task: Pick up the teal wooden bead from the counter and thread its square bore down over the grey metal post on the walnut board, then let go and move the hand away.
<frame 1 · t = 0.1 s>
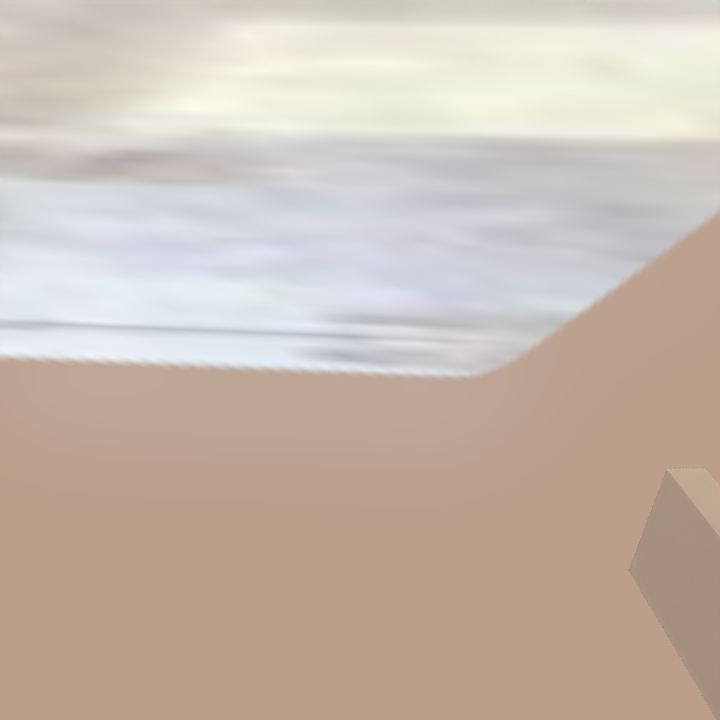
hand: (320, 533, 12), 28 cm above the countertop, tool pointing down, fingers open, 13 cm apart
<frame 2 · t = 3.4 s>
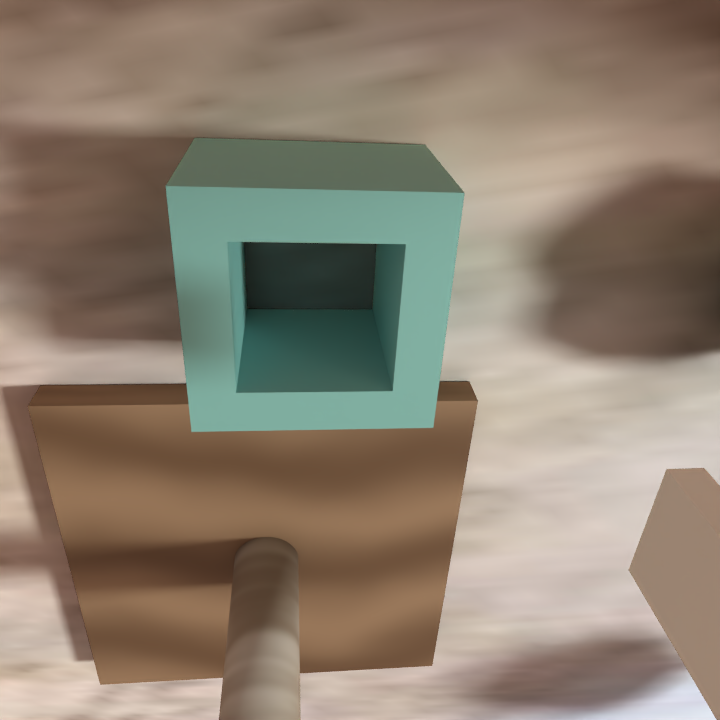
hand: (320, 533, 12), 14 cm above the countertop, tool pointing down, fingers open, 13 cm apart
post board: (267, 536, 32), on the countertop
bead: (311, 250, 24), on the countertop
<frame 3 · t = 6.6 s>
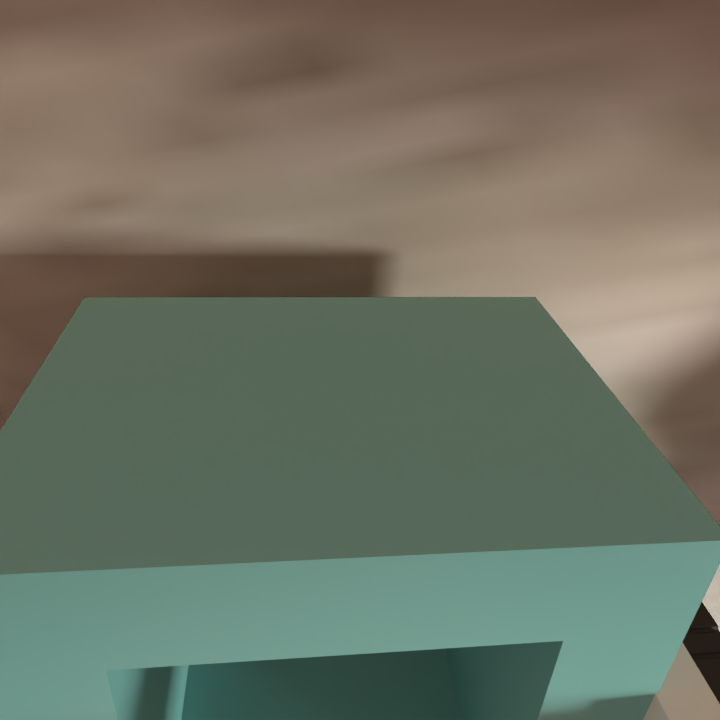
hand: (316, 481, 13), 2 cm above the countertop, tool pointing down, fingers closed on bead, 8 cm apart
bead: (316, 471, 13), point 2 cm above the countertop, touching gripper
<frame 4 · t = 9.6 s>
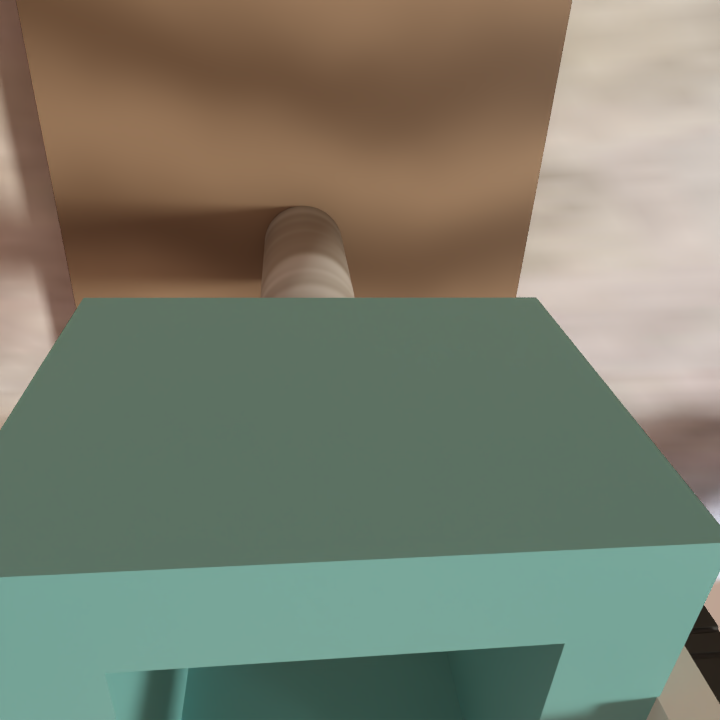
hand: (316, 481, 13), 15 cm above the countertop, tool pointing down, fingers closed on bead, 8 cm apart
post board: (302, 230, 26), on the countertop
bead: (316, 472, 13), point 15 cm above the countertop, touching gripper
when the fingers open (4 cm above the countertop, at t = 12.6 s): bead drops 2 cm, resting on post board.
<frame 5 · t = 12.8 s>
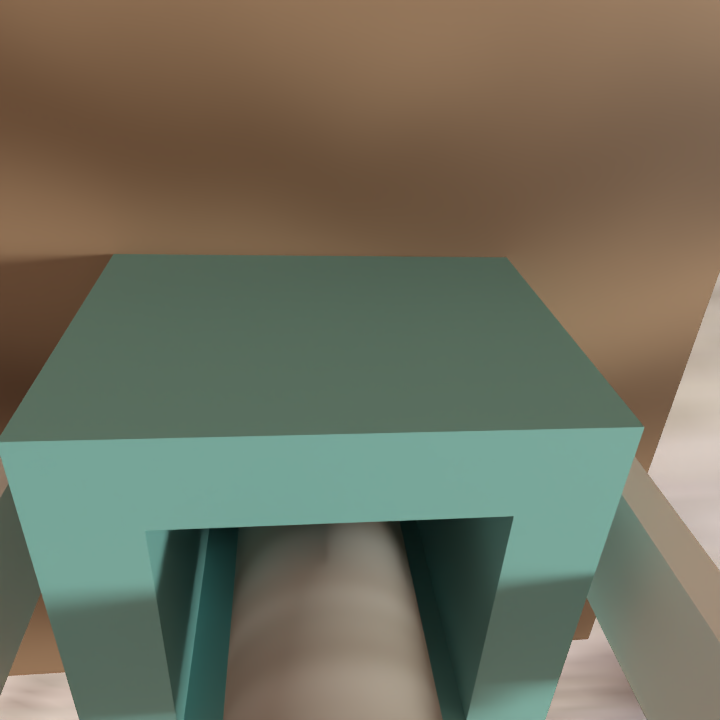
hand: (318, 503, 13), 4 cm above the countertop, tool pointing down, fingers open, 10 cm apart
post board: (309, 383, 16), on the countertop
bead: (314, 416, 15), point 1 cm above the countertop, touching post board
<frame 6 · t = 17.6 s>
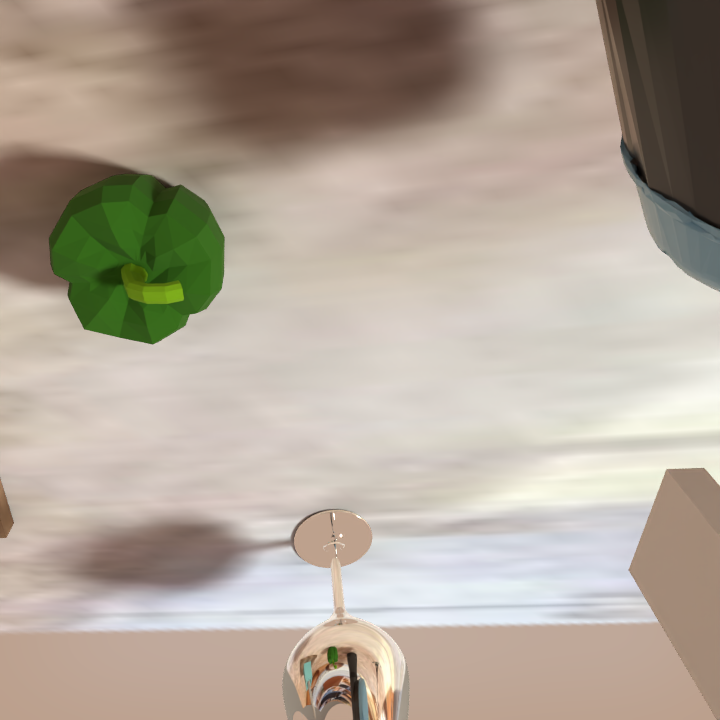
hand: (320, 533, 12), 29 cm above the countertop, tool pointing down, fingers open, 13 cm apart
wineglass: (332, 536, 52), on the countertop
bell pepper: (159, 226, 38), on the countertop
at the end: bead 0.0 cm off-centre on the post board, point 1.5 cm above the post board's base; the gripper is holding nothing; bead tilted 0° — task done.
